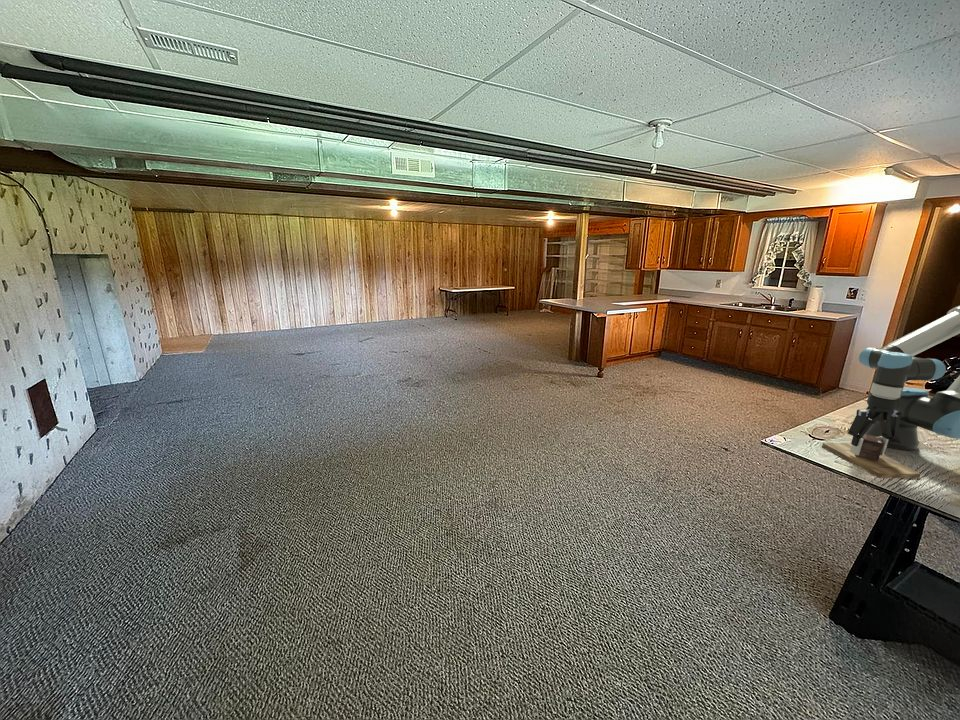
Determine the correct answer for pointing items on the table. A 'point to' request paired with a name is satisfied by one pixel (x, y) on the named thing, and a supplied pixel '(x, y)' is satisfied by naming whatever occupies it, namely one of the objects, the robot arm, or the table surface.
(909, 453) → the table surface
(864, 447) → the box
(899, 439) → the robot arm
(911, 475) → the oak board
